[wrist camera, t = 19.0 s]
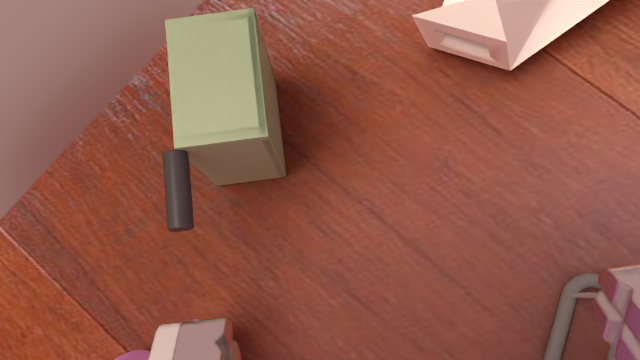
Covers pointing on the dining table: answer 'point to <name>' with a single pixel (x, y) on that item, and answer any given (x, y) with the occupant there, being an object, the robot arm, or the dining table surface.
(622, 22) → the dining table surface
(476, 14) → the tissue
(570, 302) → the newton's cradle
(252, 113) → the green shelf unit
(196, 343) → the robot arm
